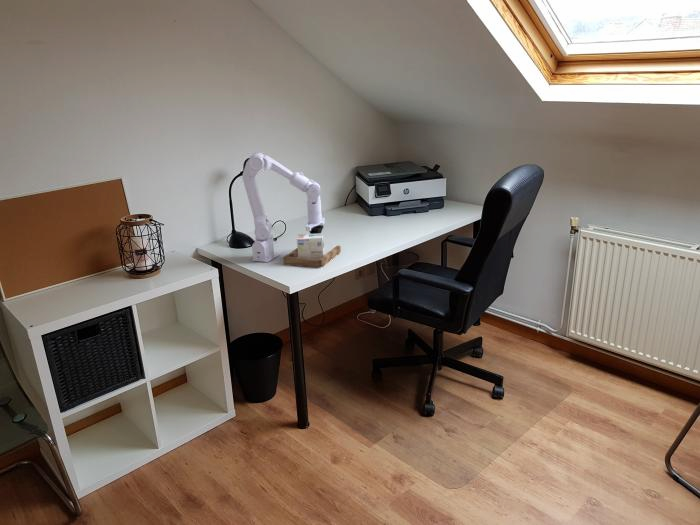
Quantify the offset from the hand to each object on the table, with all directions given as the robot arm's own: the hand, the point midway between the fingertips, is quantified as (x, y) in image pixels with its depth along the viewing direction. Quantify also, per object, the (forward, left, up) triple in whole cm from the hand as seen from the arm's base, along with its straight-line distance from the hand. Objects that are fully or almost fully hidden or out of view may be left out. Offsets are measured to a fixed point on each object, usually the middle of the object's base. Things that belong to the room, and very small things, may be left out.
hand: (316, 242), depth 245 cm
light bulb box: (-7, -1, -6) cm, 9 cm away
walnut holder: (-4, 0, -5) cm, 7 cm away
